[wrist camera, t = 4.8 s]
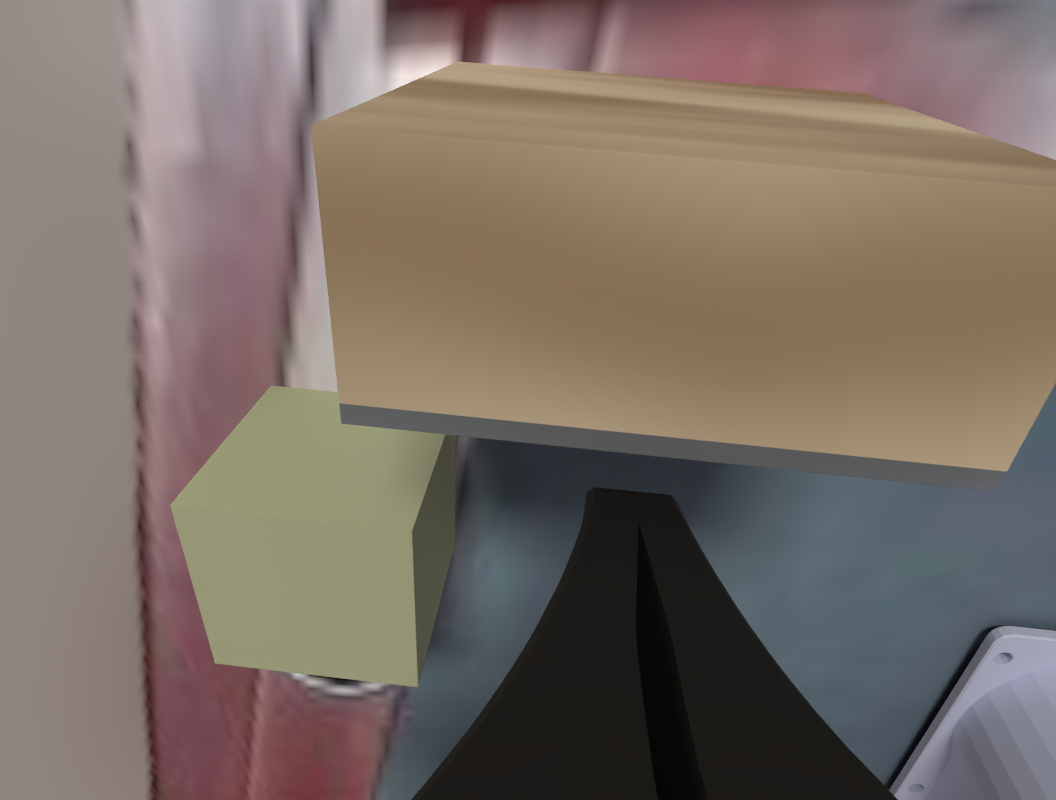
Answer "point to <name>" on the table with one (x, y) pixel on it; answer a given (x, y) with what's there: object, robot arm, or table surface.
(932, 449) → the beech slab
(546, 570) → the table surface
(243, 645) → the olive cube
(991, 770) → the robot arm
